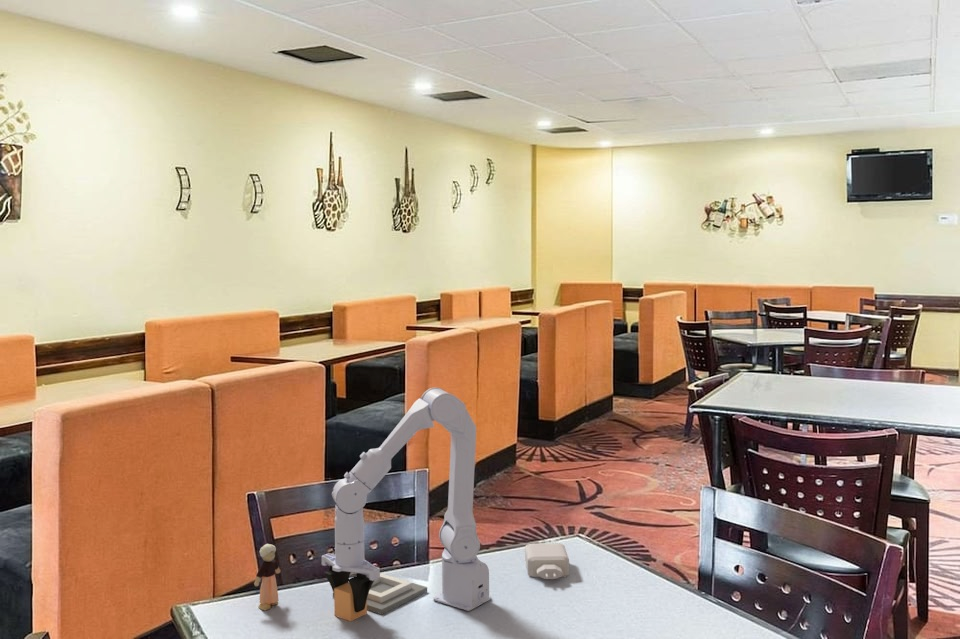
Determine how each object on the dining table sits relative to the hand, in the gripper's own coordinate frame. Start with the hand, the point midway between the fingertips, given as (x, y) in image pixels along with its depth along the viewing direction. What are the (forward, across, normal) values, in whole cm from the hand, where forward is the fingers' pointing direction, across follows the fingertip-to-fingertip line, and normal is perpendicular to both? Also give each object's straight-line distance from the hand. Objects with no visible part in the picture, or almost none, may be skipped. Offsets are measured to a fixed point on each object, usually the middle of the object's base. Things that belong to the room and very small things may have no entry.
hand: (350, 607), depth 159 cm
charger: (+2, +20, +41) cm, 46 cm away
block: (+1, 0, 0) cm, 1 cm away
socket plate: (+1, -2, +10) cm, 11 cm away
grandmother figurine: (+2, -17, -6) cm, 18 cm away
